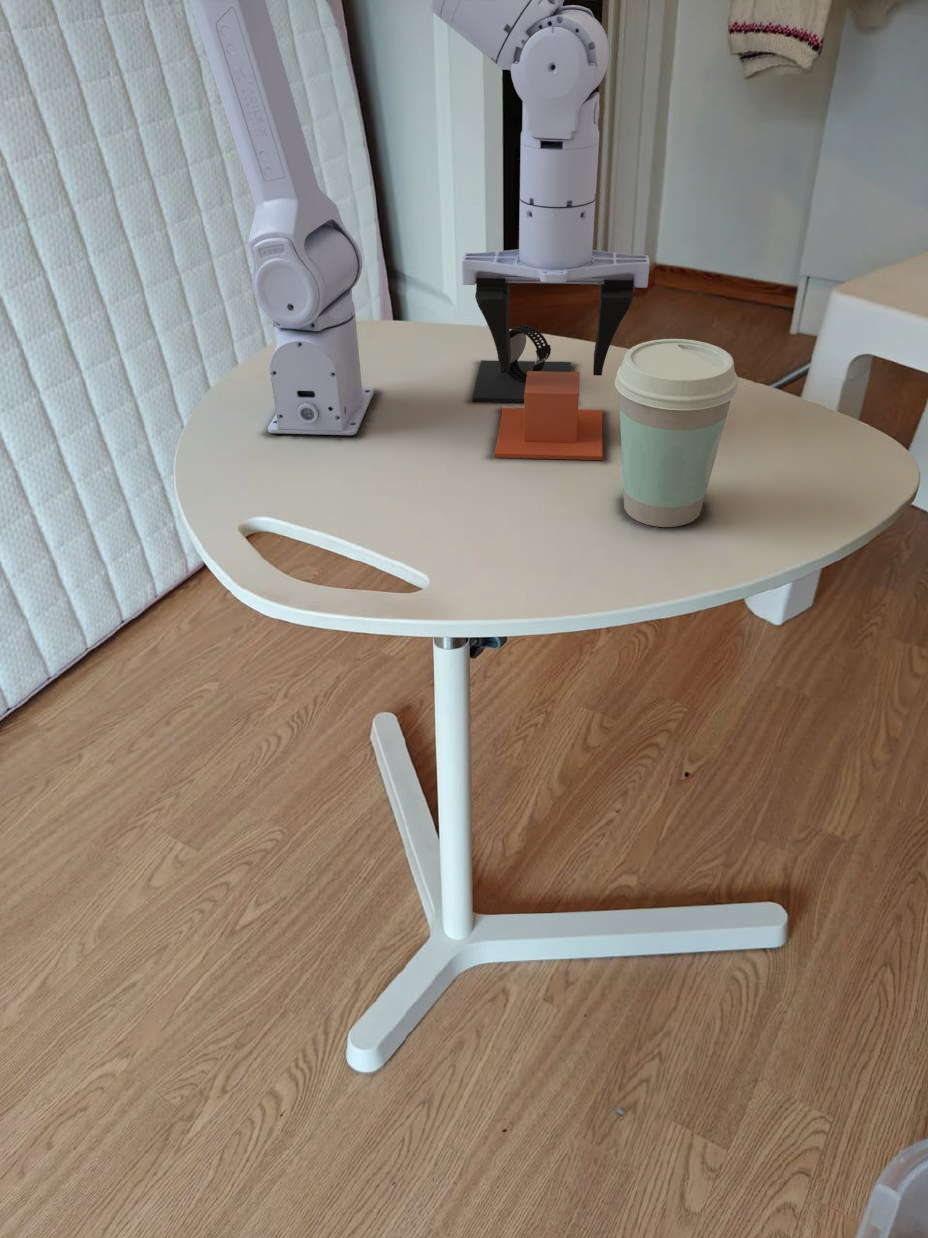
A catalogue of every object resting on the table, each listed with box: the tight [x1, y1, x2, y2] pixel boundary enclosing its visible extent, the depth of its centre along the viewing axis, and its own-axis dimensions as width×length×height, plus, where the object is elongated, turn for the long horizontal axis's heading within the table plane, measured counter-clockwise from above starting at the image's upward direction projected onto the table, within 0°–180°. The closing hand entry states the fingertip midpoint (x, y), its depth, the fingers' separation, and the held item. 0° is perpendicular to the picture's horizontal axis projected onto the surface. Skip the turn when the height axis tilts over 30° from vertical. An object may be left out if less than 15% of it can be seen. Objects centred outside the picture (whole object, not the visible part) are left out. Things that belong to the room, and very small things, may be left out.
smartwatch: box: [496, 324, 552, 382], centre depth 93 cm, size 4×5×5 cm
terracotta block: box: [523, 371, 581, 443], centre depth 84 cm, size 4×4×4 cm
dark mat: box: [471, 359, 572, 404], centre depth 95 cm, size 9×9×1 cm
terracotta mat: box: [494, 407, 604, 461], centre depth 86 cm, size 9×9×1 cm
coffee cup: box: [614, 338, 739, 528], centre depth 72 cm, size 8×8×12 cm
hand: (551, 369), depth 82 cm, fingers open, 7 cm apart
